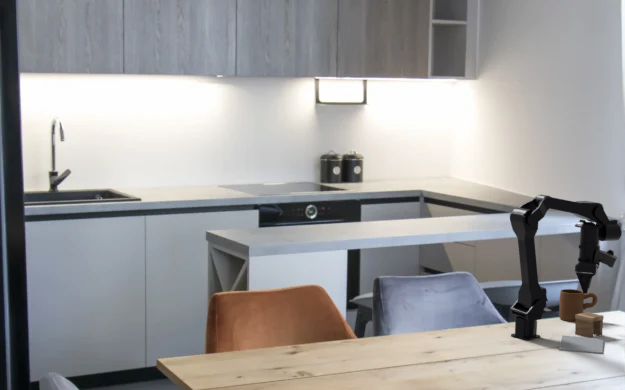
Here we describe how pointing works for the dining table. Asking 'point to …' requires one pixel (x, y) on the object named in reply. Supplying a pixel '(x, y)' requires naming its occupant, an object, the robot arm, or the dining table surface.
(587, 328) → the stool
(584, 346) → the mat
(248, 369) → the dining table surface
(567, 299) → the mug
